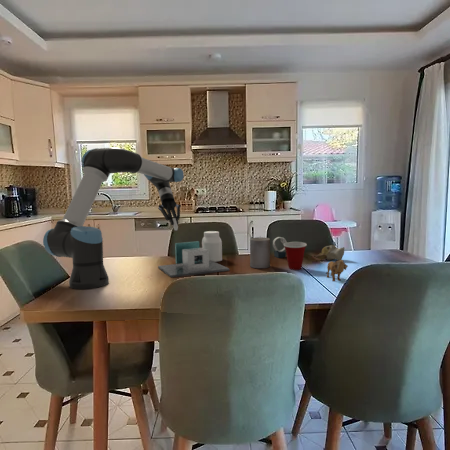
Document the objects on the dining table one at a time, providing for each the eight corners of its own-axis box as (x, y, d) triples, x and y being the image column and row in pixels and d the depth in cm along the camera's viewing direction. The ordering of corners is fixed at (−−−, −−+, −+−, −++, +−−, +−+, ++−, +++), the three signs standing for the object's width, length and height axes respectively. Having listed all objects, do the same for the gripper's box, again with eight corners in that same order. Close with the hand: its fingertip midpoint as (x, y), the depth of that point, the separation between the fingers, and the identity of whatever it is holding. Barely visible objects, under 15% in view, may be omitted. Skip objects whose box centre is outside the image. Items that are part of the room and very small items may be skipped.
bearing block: (171, 277, 159) (170, 254, 158) (158, 267, 179) (157, 247, 178) (229, 270, 171) (229, 249, 170) (211, 262, 191) (210, 243, 190)
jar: (223, 261, 193) (222, 232, 191) (205, 262, 190) (204, 233, 189) (218, 257, 204) (217, 230, 202) (201, 258, 202) (200, 231, 200)
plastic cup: (281, 270, 169) (281, 244, 168) (285, 265, 180) (285, 241, 178) (305, 271, 166) (305, 245, 165) (308, 266, 176) (308, 242, 175)
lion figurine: (349, 282, 146) (349, 260, 145) (336, 283, 145) (337, 261, 144) (330, 274, 160) (331, 254, 160) (319, 275, 159) (319, 254, 158)
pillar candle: (258, 263, 185) (258, 234, 184) (274, 266, 178) (274, 235, 177) (245, 266, 179) (245, 236, 177) (261, 269, 172) (261, 238, 170)
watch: (288, 257, 201) (289, 237, 199) (275, 258, 198) (275, 238, 197) (284, 255, 206) (284, 236, 205) (271, 256, 204) (271, 236, 203)
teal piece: (183, 268, 168) (182, 246, 167) (175, 263, 179) (175, 243, 178) (207, 265, 173) (207, 244, 172) (198, 261, 184) (198, 241, 183)
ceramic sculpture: (341, 245, 183) (312, 245, 191) (342, 262, 183) (313, 261, 192) (347, 242, 192) (319, 242, 200) (347, 259, 192) (319, 258, 201)
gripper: (176, 201, 215) (186, 232, 201) (154, 202, 209) (163, 234, 196) (179, 192, 209) (189, 223, 196) (156, 192, 204) (165, 225, 190)
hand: (176, 228), depth 196 cm, fingers closed
